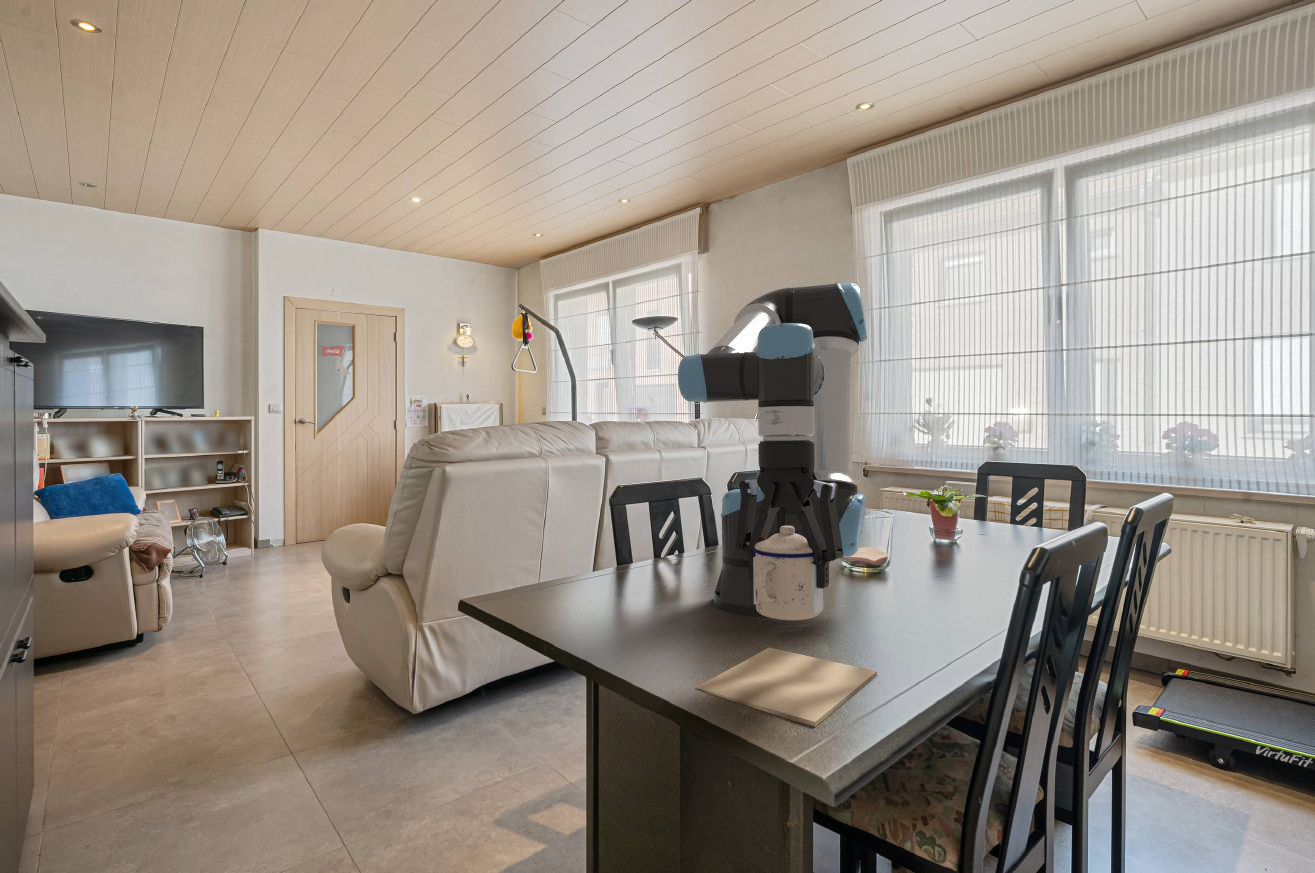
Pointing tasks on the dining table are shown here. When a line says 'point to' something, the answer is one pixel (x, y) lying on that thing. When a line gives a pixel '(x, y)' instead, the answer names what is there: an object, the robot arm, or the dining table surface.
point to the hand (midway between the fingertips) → (787, 606)
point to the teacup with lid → (784, 576)
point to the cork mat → (790, 685)
